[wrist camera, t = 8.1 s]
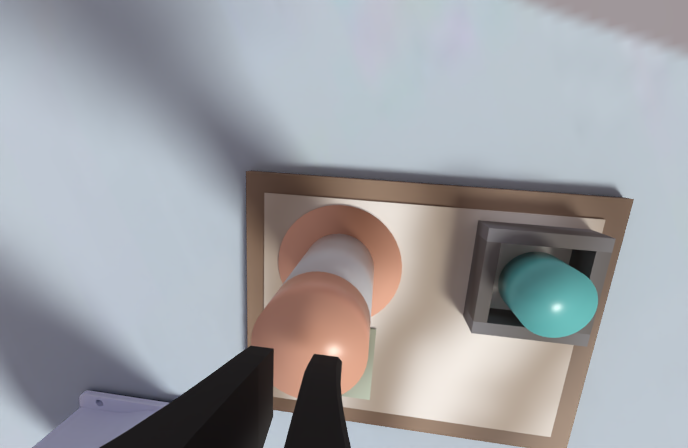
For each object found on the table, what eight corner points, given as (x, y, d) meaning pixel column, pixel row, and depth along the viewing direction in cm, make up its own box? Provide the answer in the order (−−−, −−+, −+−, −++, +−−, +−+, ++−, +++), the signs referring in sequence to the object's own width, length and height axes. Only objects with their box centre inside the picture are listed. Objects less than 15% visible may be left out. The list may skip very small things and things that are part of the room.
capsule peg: (305, 298, 17) (254, 395, 10) (303, 232, 16) (247, 290, 9) (373, 301, 17) (367, 405, 10) (374, 234, 16) (369, 297, 9)
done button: (492, 309, 15) (509, 332, 13) (504, 248, 14) (523, 263, 12) (560, 316, 15) (587, 342, 13) (575, 255, 14) (606, 271, 12)
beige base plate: (252, 398, 20) (235, 429, 18) (250, 170, 17) (230, 173, 14) (559, 443, 18) (584, 484, 16) (623, 197, 15) (666, 205, 13)
